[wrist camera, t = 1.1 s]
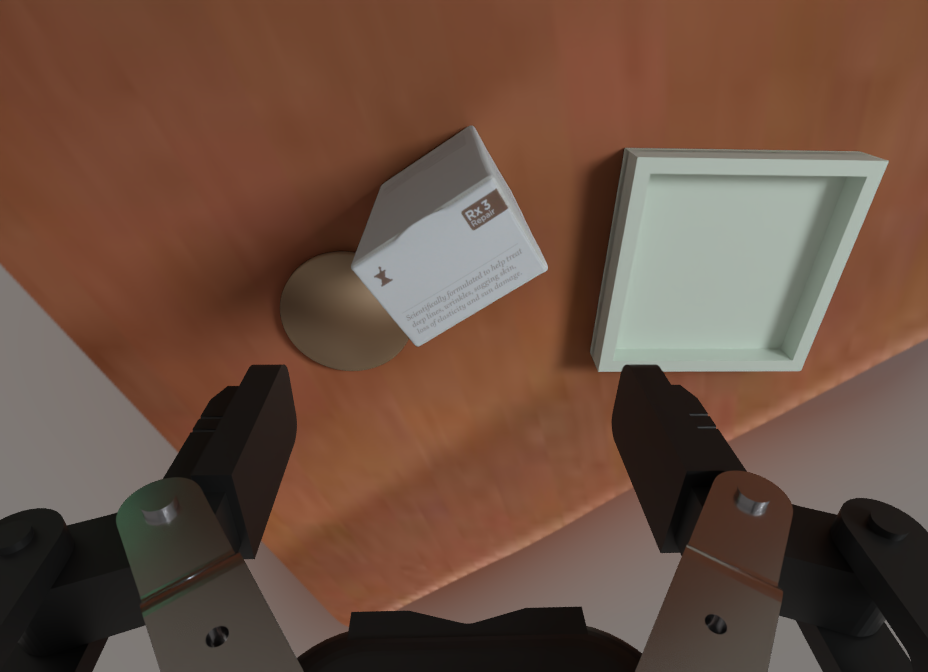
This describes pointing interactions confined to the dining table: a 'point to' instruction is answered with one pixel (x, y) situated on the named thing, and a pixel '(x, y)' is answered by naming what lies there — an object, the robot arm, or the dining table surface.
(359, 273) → the skincare box
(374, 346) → the coaster
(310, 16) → the dining table surface
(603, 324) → the tray
